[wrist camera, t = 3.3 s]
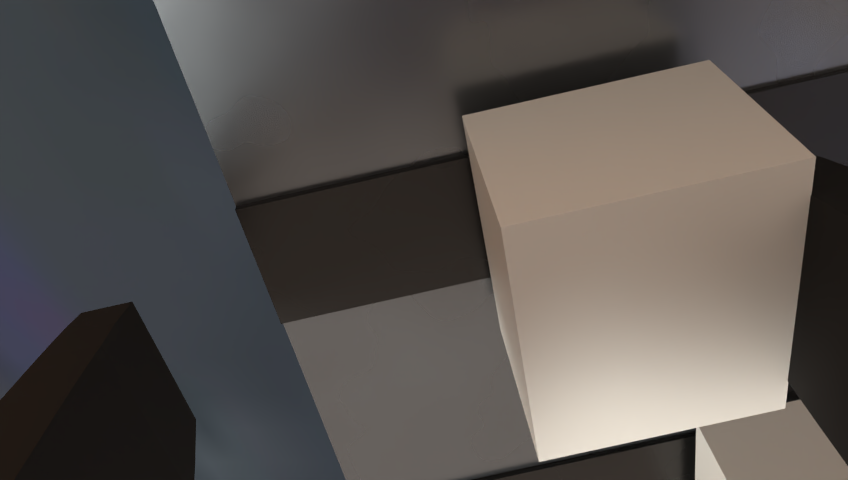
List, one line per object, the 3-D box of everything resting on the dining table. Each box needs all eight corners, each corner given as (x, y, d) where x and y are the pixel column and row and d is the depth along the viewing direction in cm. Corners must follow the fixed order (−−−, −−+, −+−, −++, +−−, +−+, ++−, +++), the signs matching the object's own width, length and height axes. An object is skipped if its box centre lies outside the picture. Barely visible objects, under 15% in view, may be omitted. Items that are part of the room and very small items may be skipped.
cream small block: (709, 60, 9) (815, 157, 7) (703, 284, 11) (785, 408, 9) (461, 115, 9) (500, 228, 7) (500, 329, 11) (539, 462, 9)
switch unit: (1246, -1042, 7) (1578, -1309, 5) (888, 427, 18) (950, 506, 16) (-66, -716, 7) (-195, -857, 5) (394, 535, 18) (402, 624, 16)
